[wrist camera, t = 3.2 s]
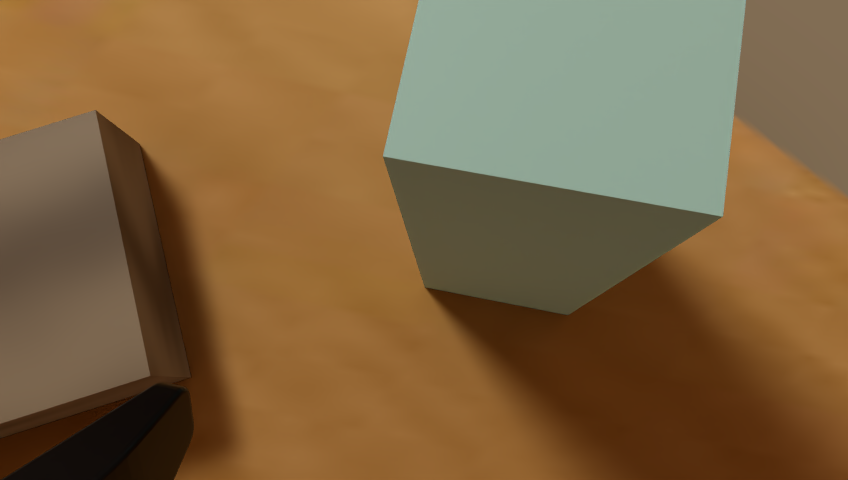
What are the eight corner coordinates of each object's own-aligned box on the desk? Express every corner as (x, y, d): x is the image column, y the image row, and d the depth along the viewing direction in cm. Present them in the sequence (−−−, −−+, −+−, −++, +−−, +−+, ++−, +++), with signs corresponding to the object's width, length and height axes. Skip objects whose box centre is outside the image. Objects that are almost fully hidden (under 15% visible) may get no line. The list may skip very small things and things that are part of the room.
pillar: (567, 315, 22) (722, 216, 9) (424, 287, 22) (383, 156, 10) (589, 178, 23) (755, -81, 10) (452, 154, 23) (446, -123, 11)
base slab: (191, 377, 22) (150, 375, 19) (-63, 458, 22) (-144, 469, 19) (139, 143, 24) (95, 110, 21) (-93, 216, 24) (-170, 192, 21)
